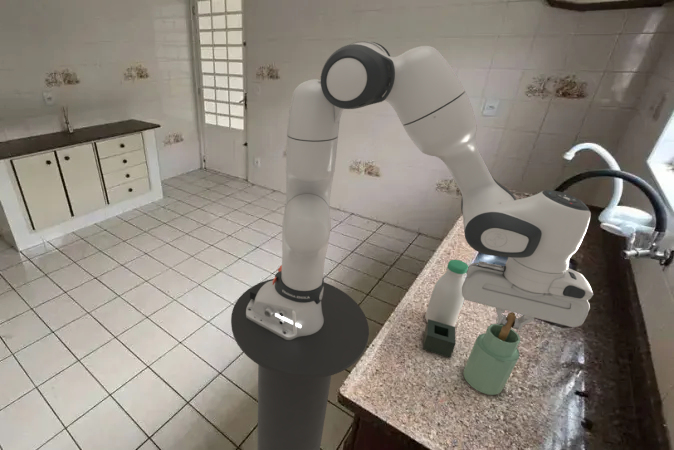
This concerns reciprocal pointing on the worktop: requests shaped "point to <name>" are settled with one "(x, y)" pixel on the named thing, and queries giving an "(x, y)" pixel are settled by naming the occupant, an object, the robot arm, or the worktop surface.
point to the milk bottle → (448, 295)
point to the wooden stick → (507, 326)
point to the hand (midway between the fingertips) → (507, 325)
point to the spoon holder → (439, 338)
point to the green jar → (492, 360)
